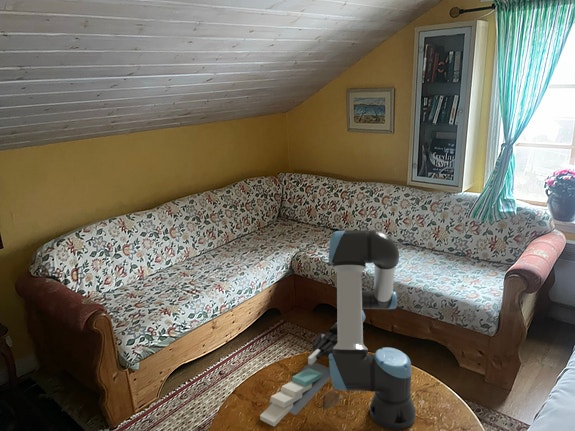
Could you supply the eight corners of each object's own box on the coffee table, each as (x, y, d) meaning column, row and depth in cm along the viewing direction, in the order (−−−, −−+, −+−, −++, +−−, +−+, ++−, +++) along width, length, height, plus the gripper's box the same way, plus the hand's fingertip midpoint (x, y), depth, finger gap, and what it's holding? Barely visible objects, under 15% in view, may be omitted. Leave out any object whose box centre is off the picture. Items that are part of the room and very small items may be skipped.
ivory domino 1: (302, 392, 166) (284, 402, 157) (301, 397, 166) (284, 407, 157) (289, 387, 169) (270, 396, 160) (288, 391, 169) (270, 401, 160)
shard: (323, 416, 159) (323, 412, 158) (308, 405, 164) (308, 400, 164) (345, 401, 165) (345, 397, 164) (330, 390, 171) (330, 386, 170)
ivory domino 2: (293, 402, 161) (273, 422, 153) (293, 406, 162) (274, 426, 153) (279, 396, 165) (259, 415, 156) (279, 400, 165) (260, 419, 157)
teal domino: (321, 373, 175) (305, 382, 166) (321, 377, 176) (305, 386, 167) (308, 368, 179) (292, 376, 170) (308, 372, 179) (291, 381, 170)
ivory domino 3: (312, 383, 170) (295, 392, 161) (311, 387, 171) (294, 397, 162) (298, 377, 174) (281, 386, 165) (298, 382, 174) (281, 391, 165)
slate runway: (337, 372, 179) (337, 370, 179) (295, 417, 158) (295, 415, 158) (311, 363, 186) (311, 360, 186) (268, 404, 165) (268, 402, 165)
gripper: (355, 343, 188) (324, 375, 170) (328, 334, 195) (296, 364, 178) (355, 327, 186) (324, 358, 168) (327, 319, 193) (294, 347, 175)
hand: (309, 361), depth 173 cm, fingers closed
